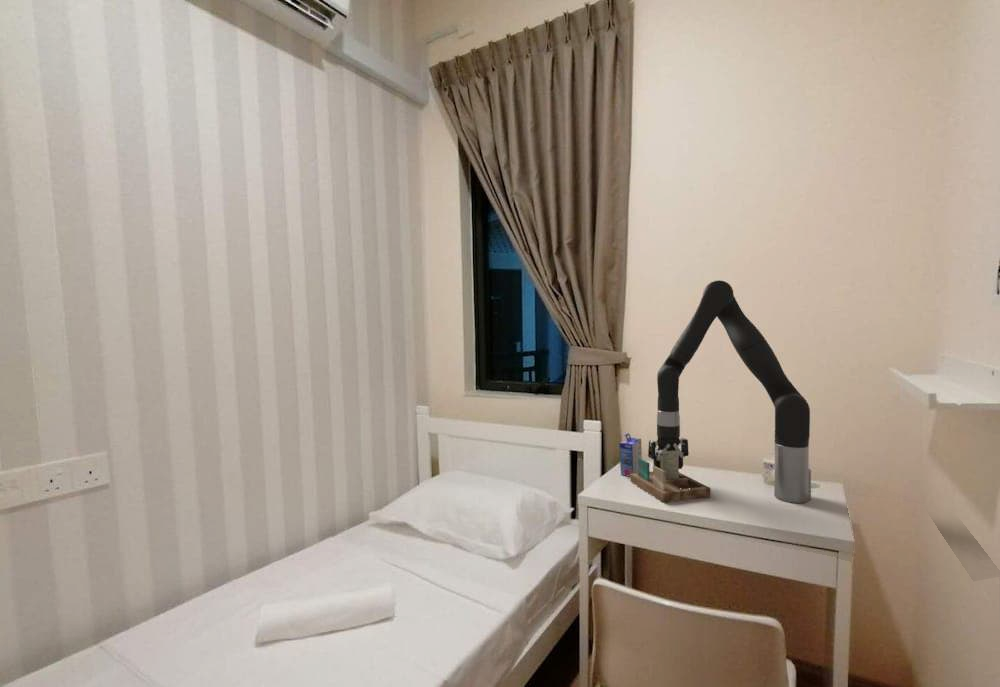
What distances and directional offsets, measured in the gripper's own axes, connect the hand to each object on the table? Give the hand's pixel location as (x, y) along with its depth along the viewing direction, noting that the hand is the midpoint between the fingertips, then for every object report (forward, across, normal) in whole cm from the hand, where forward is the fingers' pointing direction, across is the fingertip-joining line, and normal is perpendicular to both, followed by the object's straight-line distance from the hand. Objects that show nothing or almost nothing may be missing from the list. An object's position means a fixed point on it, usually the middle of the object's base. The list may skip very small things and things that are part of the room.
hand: (668, 469), depth 170 cm
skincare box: (+5, 0, 0) cm, 5 cm away
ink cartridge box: (+5, -6, +15) cm, 17 cm away
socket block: (+5, -3, -5) cm, 8 cm away
